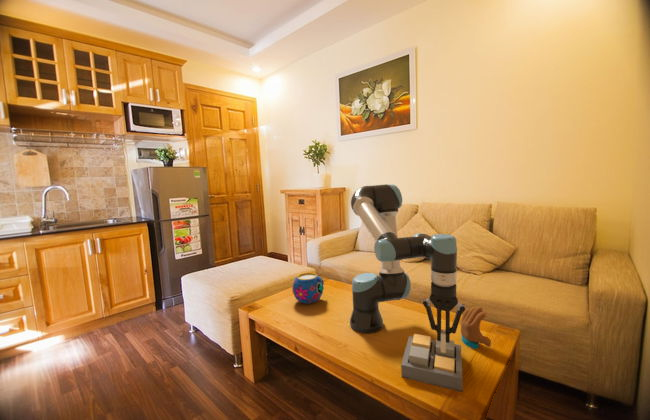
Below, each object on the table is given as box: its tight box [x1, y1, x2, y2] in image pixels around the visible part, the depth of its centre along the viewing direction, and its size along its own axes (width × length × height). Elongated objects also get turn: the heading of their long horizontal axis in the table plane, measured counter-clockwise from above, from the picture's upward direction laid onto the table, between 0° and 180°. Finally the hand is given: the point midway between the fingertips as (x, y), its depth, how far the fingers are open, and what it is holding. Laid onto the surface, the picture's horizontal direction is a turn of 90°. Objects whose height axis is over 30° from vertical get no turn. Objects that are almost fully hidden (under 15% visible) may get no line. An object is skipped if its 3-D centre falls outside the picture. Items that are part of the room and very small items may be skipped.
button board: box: [400, 335, 464, 393], centre depth 97 cm, size 18×18×4 cm
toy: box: [460, 306, 492, 350], centre depth 108 cm, size 12×7×15 cm, turn 5°
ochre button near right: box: [434, 355, 454, 373], centre depth 92 cm, size 6×6×4 cm
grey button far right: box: [435, 337, 455, 358], centre depth 99 cm, size 6×6×4 cm
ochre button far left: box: [412, 333, 432, 353], centre depth 102 cm, size 6×6×4 cm
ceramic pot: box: [291, 272, 325, 304], centre depth 156 cm, size 18×18×15 cm
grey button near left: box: [409, 345, 429, 367], centre depth 95 cm, size 6×6×4 cm
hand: (443, 349), depth 92 cm, fingers closed
